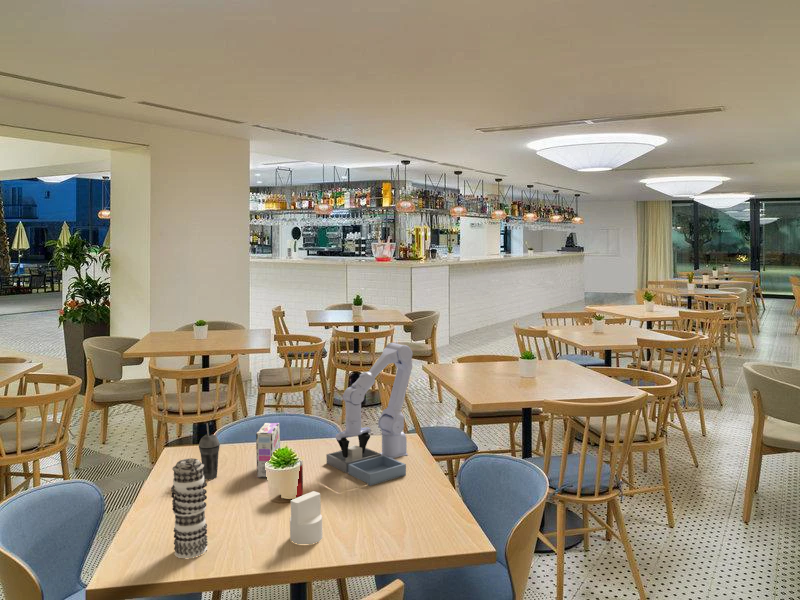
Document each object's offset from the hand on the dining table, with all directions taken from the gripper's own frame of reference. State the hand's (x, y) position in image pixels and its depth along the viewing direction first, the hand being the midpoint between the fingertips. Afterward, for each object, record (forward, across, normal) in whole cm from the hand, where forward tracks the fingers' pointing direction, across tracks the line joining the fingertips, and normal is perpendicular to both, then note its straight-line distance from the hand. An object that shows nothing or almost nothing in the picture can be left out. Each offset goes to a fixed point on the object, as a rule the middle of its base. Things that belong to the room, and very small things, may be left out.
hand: (353, 454), depth 238 cm
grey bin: (+4, 0, 0) cm, 4 cm away
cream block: (+3, 0, 0) cm, 3 cm away
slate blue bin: (+4, 0, +14) cm, 15 cm away
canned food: (+4, +33, +11) cm, 35 cm away
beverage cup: (+4, +47, -22) cm, 52 cm away
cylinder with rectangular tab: (+4, +45, +41) cm, 61 cm away
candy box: (+4, +28, -14) cm, 31 cm away
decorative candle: (+4, +73, +28) cm, 78 cm away
